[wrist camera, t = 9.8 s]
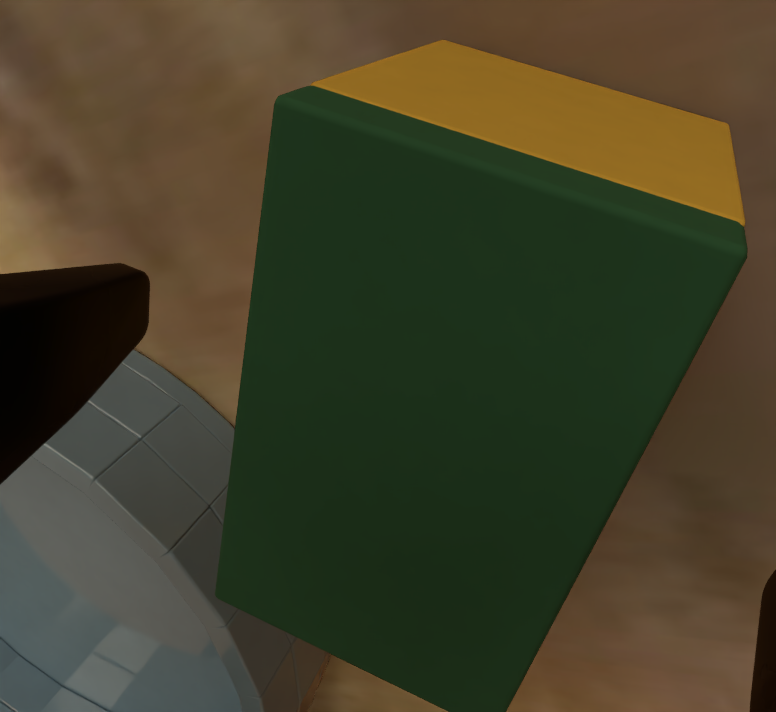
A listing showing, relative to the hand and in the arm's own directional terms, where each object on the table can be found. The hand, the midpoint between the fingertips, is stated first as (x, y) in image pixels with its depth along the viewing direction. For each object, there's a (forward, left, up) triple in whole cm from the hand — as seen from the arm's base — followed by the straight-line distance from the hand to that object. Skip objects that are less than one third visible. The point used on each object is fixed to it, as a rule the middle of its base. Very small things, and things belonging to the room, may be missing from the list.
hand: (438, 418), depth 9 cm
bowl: (-12, +9, -4) cm, 16 cm away
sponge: (0, 0, -4) cm, 4 cm away
